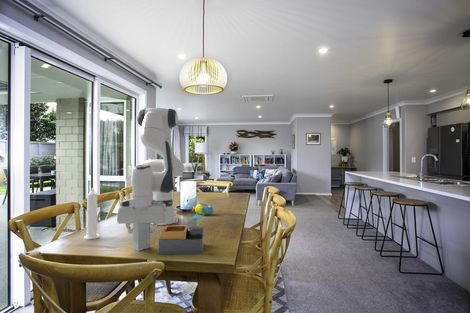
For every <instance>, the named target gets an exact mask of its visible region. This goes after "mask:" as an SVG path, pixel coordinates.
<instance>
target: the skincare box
mask: <svg viewBox="0 0 470 313" xmlns="http://www.w3.org/2000/svg"><path fill="white" fill-rule="evenodd" d="M132 225H133V228H132V229H133V233H132V234H133V235H132V236H133V243H132V244H133V248H132V249H133V250H135V251H136V252H139V251H142V250H146V249H149V248H151V233H150V232H151V224H150V223H142V222H138V223H132Z"/></svg>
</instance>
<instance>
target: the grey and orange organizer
mask: <svg viewBox="0 0 470 313" xmlns="http://www.w3.org/2000/svg"><path fill="white" fill-rule="evenodd" d="M204 232H205V231H204V227H202V226H197V225H194V226H189V225H165V227H164V228H163V229H162V232H161V235H160V237H159V239H158V255H160V256H161V255H163V256H164V255H203V251H204V250H203V249H204V242H205V240H204V239H205V238H204V235H205V233H204Z"/></svg>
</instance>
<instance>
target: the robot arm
mask: <svg viewBox="0 0 470 313" xmlns="http://www.w3.org/2000/svg"><path fill="white" fill-rule="evenodd" d="M136 119H137V123H138V125H139V126H140V127H141V129H140V141H141V143H142V144H143V147H145V148H147V149H148V150H151V151H153V152H154V153H156V155H159V156H161V157H162V159H161V158H158V159H156V158H154V159H153V158H151V159H148V160H145V161H143V162H142V164H140V165H139V164H138V165H135V166H134V167H133V169H132V173H131V174H132V175H131V189H132V191H131V197H130V198H127V199H124V200H122V201H119V202H120V203H119V207H120V208H118V210H117V214H116V215H117V216H116V221H117V223H118V224H124V225H125V227H126V229H127V230H128V232H127V233H128V234H131V235H132V234H133V228H132V227H131V224H133V223H138V222H142V223H150V225H152V226H153V228H150V234H155V231H156V230H155V229H156V228H157V226H168V225H171V224H176V223H179V218H178V216H177V214H176V213H175V212H176V211H175V208H174V205H173V203H174V202H173V200H174V199H173V190H174V189H175V187H176V178H177V177H181V176H182V175H183V174H184V172H185V164H184V163H183V161H181V160H180V159H179V158H177V156H176V154H175V153H174V150H173V144H172V131H171V130H172V129H173V128H175V127H176V126H177V124H178V122H179V115H178V113H177V110H175V109H174V108H164V107H155V108H154V107H153V108H146V107H145V108H140V109H139V110H138V111H137V114H136ZM175 177H176V178H175Z"/></svg>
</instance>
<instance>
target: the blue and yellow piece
mask: <svg viewBox="0 0 470 313" xmlns="http://www.w3.org/2000/svg"><path fill="white" fill-rule="evenodd" d="M190 208H191V212H195V214H194V215H192V217H190V220H200V219H202V218H203V217H204V216H205V215H209V214H213V213H214V206H211V205H209V204H206V203H202V202H199V203H198V204H197V205H192V206H190Z"/></svg>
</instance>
